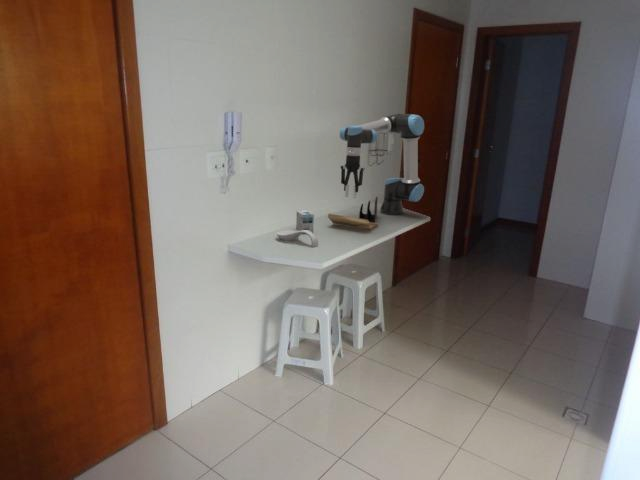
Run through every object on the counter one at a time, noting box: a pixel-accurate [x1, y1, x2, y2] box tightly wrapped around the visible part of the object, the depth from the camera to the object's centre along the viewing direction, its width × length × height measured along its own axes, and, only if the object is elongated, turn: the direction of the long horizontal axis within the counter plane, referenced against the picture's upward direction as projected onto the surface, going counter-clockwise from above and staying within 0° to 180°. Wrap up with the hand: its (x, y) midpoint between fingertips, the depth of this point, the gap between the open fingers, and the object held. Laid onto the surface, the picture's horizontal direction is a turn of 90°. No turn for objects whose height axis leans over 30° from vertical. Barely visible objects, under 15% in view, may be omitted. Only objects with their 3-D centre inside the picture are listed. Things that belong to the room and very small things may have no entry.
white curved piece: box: [276, 229, 319, 248], centre depth 237 cm, size 24×12×7 cm, turn 55°
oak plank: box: [327, 213, 373, 231], centre depth 266 cm, size 10×24×2 cm
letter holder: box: [358, 196, 378, 223], centre depth 289 cm, size 10×20×14 cm, turn 171°
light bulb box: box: [295, 209, 315, 235], centre depth 257 cm, size 11×7×11 cm, turn 22°
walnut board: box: [337, 222, 379, 231], centre depth 275 cm, size 9×24×2 cm, turn 64°
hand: (350, 197), depth 260 cm, fingers open, 4 cm apart
